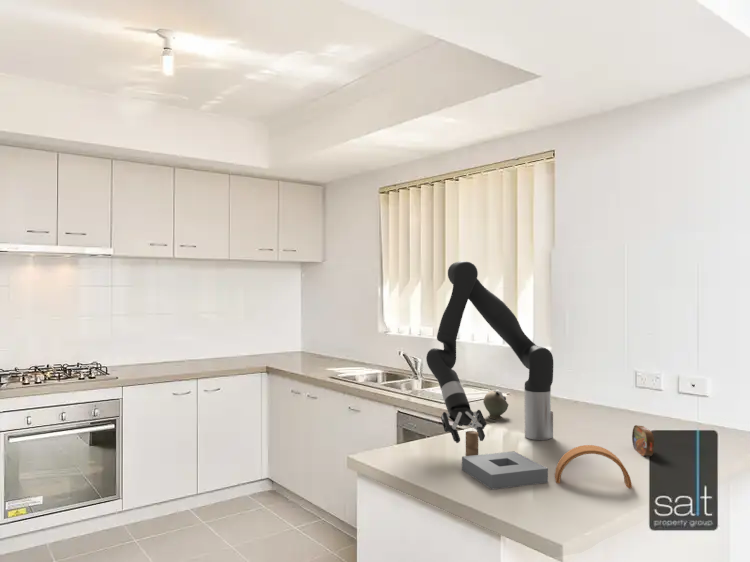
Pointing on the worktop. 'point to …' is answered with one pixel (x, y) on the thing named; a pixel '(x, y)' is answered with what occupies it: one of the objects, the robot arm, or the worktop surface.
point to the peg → (471, 443)
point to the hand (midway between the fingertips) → (470, 440)
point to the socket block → (504, 470)
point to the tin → (643, 440)
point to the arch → (589, 450)
